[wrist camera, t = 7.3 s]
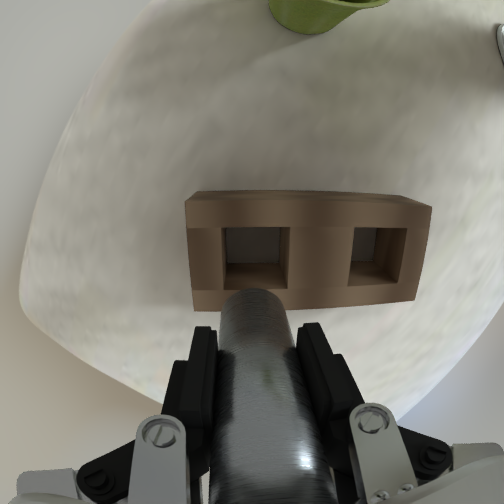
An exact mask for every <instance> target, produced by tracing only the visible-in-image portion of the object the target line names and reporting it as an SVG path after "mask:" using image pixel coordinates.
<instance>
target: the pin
mask: <svg viewBox="0 0 504 504" xmlns="http://www.w3.org/2000/svg"><path fill="white" fill-rule="evenodd" d="M208 503H209V504H339V503H338V499H337V496H336V492H335V488H334V484H333V480H332V476H331V473H330V469H329V465H328V461H327V458H326V454H325V450H324V446H323V443H322V439H321V435H320V432H319V428H318V425H317V421H316V417H315V414H314V410H313V407H312V403H311V399H310V396H309V392H308V389H307V385H306V382H305V378H304V375H303V371H302V368H301V364H300V361H299V357H298V354H297V350H296V346H295V343H294V340H293V336H292V333H291V329H290V326H289V322H288V319H287V316H286V312H285V309H284V306H283V304H282V302H281V300H280V299H279V298H278V297H277V296H276V295H275V294H274V293H272V292H270V291H268V290H265V289H262V288H247V289H243V290H240V291H238V292H236V293H234V294H232V295H231V296H230V297H229V298H228V299H227V300H226V302H225V303H224V305H223V307H222V310H221V319H220V330H219V342H218V362H217V375H216V389H215V404H214V420H213V434H212V439H211V457H210V479H209V502H208Z"/></svg>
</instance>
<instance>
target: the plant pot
mask: <svg viewBox="0 0 504 504" xmlns="http://www.w3.org/2000/svg"><path fill="white" fill-rule="evenodd" d="M388 1H390V0H269V7H270V10H271V12H272V14H273V16H274V18H275V19H276V20H277V21H278V22H279V23H280V24H282V25H283V26H285V27H286V28H288V29H290V30H292V31H295V32H298V33H302V34H316V33H324V32H327V31H329V30H330V29H332V28H333V27H334V26H336V25H337V24H339V23H340V22H341V21H343V20H344V19H346V18H347V17H349V16H350V15H352V14H353V13H355V12H356V11H358V10H361V9H365V8H374V7H378V6H381V5H383V4H385V3H387V2H388Z"/></svg>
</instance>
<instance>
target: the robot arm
mask: <svg viewBox="0 0 504 504" xmlns="http://www.w3.org/2000/svg"><path fill="white" fill-rule="evenodd" d="M497 40H498V46H499V50H500V53H501V56H502V59H503V62H504V24H502V25H500V26H499V27H498V30H497ZM296 350H297V354H298V357H299V361H300V364H301V368H302V371H303V375H304V378H305V382H306V385H307V389H308V392H309V396H310V399H311V403H312V407H313V410H314V414H315V417H316V421H317V425H318V428H319V432H320V435H321V439H322V443H323V446H324V450H325V454H326V458H327V461H328V465H329V469H330V473H331V476H332V480H333V484H334V488H335V492H336V496H337V499H338V503H339V504H504V451H503V449H502V447H501V446H500V445H498V444H496V443H472V444H453V445H452V446H448V445H447V444H446V443H445V442H443V441H441V440H438V439H435V438H432V437H429V436H426V435H423V434H420V433H417V432H414V431H411V430H409V429H406V428H403V427H400V426H398V425H397V424H396V421H395V418H394V416H393V414H392V413H391V411H390V410H389V409H388V408H387V407H385V406H383V405H381V404H377V403H365V402H364V400H363V398H362V395H361V393H360V391H359V389H358V387H357V385H356V383H355V380H354V378H353V376H352V374H351V372H350V370H349V368H348V366H347V364H346V362H345V359H344V357H343V356H342V355H341V354H333V352H332V350H331V348H330V345H329V343H328V341H327V339H326V337H325V334H324V332H323V330H322V328H321V326H320V324H319V323H318V322H316V323H304V324H303V327H299V328H298V333H297V343H296ZM217 362H218V342H217V331H216V330H211V327H210V326H196V327H195V331H194V335H193V340H192V344H191V349H190V354H189V359H188V361H185V360H175V361H174V364H173V368H172V371H171V375H170V379H169V383H168V387H167V391H166V395H165V399H164V403H163V407H162V412H161V415H154V416H151V417H149V418H147V419H145V420H144V421H143V422H142V423H141V424H140V425H139V427H138V429H137V433H136V439H135V440H133V441H131V442H129V443H127V444H125V445H123V446H121V447H120V448H117V449H116V450H113V451H111V452H110V453H107V454H105V455H103V456H101V457H99V458H97V459H94V460H92V461H90V462H88V463H86V464H85V465H83V466H82V467H81V468H80V469H79V470H76V471H74V470H73V469H72V468H68V469H58V470H43V471H27V472H23V473H22V474H20V475H19V477H18V479H17V496H16V497H14V498H13V499H12V500H11V501H10V502H9V503H8V504H203V494H202V479H201V476H202V475H204V474H205V473H207V472H208V471H209V467H210V457H211V439H212V434H213V420H214V404H215V389H216V375H217Z"/></svg>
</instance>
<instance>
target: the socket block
mask: <svg viewBox="0 0 504 504" xmlns="http://www.w3.org/2000/svg"><path fill="white" fill-rule="evenodd" d="M185 213H186V228H187V242H188V255H189V266H190V277H191V287H192V296H193V305H194V311H213V312H218V311H221V310H222V307H223V305H224V303H225V302H226V300H227V299H228V298H229V297H230V296H231V295H232V294H234V293H236V292H238V291H240V290H243V289H247V288H262V289H265V290H268V291H270V292H272V293H274V294H275V295H276V296H277V297H278V298H279V299H280V300H281V302H282V304H283V306H284V309H285V310H301V309H320V308H336V307H350V306H363V305H374V304H385V303H395V302H404V301H413V300H415V297H416V293H417V289H418V285H419V280H420V276H421V271H422V267H423V262H424V257H425V251H426V246H427V240H428V234H429V227H430V220H431V213H432V207H431V206H429V205H426V204H423V203H420V202H418V201H415V200H412V199H409V198H406V197H403V196H397V195H384V194H370V193H352V192H330V191H293V190H236V191H199V192H196V193H195V194H194V195H192V196H191V197H190V198H189V199H188V200H186V201H185ZM226 227H280V249H279V263H227V252H226ZM354 227H377V235H376V243H375V250H374V257H373V261H351V255H352V246H353V237H354Z"/></svg>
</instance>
